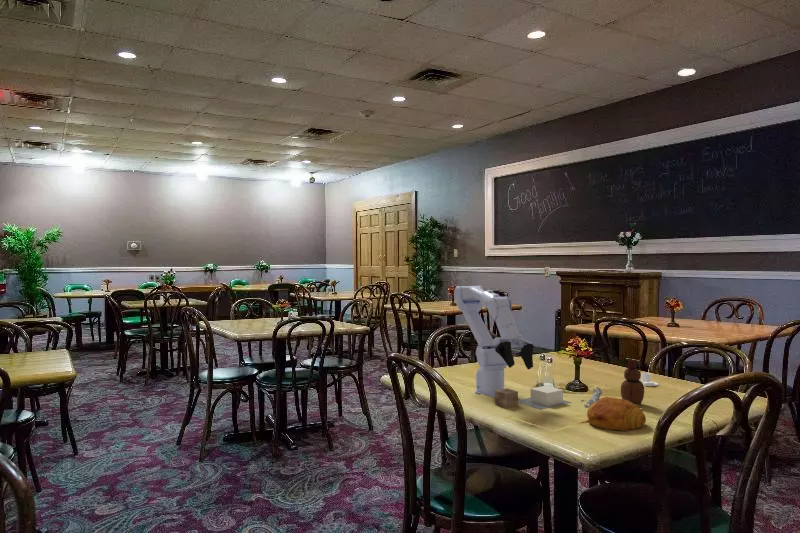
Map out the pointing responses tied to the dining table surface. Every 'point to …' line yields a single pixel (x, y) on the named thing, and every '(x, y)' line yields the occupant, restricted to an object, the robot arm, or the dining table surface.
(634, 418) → the croissant
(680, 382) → the dining table surface
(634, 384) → the wooden figurine
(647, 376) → the teacup and saucer
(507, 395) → the walnut cube
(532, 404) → the slate board
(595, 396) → the soldier figure
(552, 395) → the cream block
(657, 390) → the dining table surface
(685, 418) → the dining table surface
